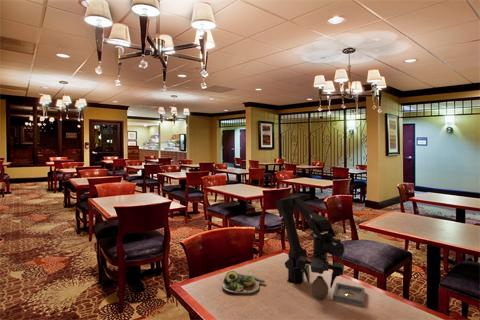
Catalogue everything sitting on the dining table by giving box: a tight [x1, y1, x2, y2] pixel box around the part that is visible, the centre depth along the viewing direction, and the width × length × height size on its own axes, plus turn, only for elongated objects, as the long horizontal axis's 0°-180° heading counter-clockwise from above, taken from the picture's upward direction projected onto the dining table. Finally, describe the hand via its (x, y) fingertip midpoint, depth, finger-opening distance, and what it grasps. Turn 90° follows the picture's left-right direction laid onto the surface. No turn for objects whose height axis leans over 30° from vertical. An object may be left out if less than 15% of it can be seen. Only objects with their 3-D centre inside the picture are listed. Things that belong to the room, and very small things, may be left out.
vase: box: [311, 275, 329, 301], centre depth 119 cm, size 7×7×9 cm
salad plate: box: [221, 270, 266, 295], centre depth 130 cm, size 19×18×5 cm
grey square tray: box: [331, 282, 366, 308], centre depth 120 cm, size 12×12×2 cm
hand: (319, 284), depth 119 cm, fingers open, 9 cm apart
